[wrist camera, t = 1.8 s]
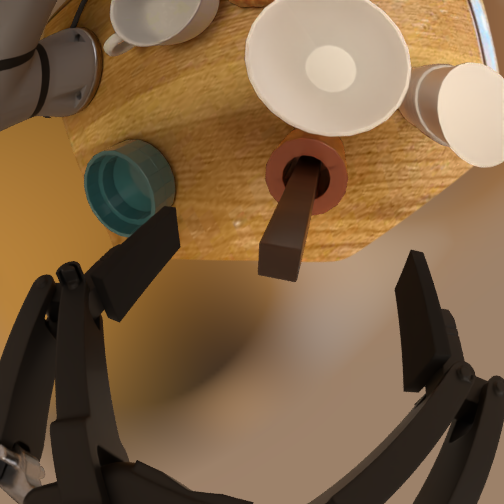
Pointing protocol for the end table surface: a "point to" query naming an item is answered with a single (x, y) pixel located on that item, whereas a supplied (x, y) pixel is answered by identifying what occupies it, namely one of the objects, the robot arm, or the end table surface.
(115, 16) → the teacup
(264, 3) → the pastry
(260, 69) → the cup
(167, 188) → the bowl
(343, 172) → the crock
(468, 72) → the white ribbed cylinder
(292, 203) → the stick
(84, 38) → the robot arm
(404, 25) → the end table surface
